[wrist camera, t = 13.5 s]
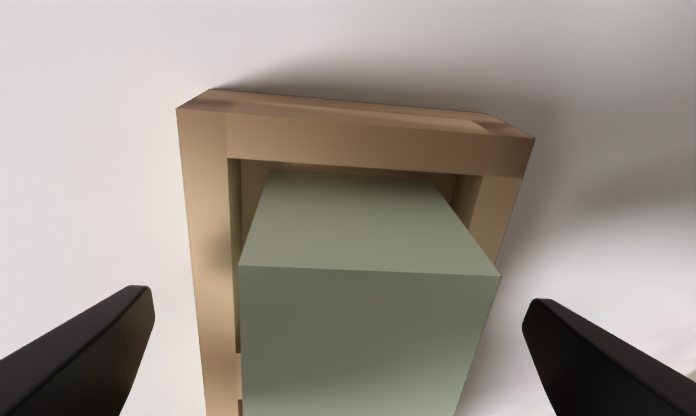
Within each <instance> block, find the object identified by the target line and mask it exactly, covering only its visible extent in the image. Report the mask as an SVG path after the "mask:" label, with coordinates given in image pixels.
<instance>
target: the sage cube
mask: <svg viewBox="0 0 696 416" xmlns="http://www.w3.org/2000/svg"><path fill="white" fill-rule="evenodd" d="M501 277H502V276H501V275H500V273H499V272H498V271H497V269H496V268H495V266H494V265H493V264H492V262H491V261H490V260H489V258H488V257H487V256H486V254H485V253H484V252H483V250H482V249H481V247H480V246H479V245H478V243H477V242H476V241H475V239H474V238H473V237H472V235H471V234H470V233H469V231H468V230H467V228H466V227H465V226H464V224H463V223H462V222H461V220H460V219H459V218H458V216H457V215H456V214H455V212H454V211H453V209H452V208H451V207H450V205H449V204H448V203H447V201H446V200H445V199H444V197H443V196H442V195H441V193H440V192H439V190H438V189H437V188H436V186H435V185H434V184H433V182H432V181H431V180H419V179H405V178H391V177H376V176H362V175H348V174H334V173H319V172H305V171H291V170H276V169H270V171H269V174H268V177H267V180H266V183H265V186H264V189H263V192H262V195H261V198H260V201H259V204H258V207H257V210H256V213H255V216H254V219H253V222H252V225H251V228H250V231H249V234H248V237H247V240H246V243H245V246H244V249H243V252H242V255H241V258H240V261H239V264H238V283H239V314H240V345H241V376H242V407H243V416H454V413H455V410H456V407H457V404H458V402H459V399H460V396H461V393H462V390H463V387H464V384H465V381H466V378H467V375H468V372H469V370H470V367H471V364H472V361H473V358H474V355H475V352H476V349H477V346H478V343H479V341H480V338H481V335H482V332H483V329H484V326H485V323H486V320H487V317H488V314H489V312H490V309H491V306H492V303H493V300H494V297H495V294H496V291H497V288H498V285H499V282H500V280H501Z"/></svg>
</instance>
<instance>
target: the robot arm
mask: <svg viewBox="0 0 696 416" xmlns="http://www.w3.org/2000/svg"><path fill="white" fill-rule="evenodd" d="M154 322H155V311H154V305H153V299H152V293H151V289H150V288H149V287H148V286H141V285H129V286H127V287H125V288H123V289H121V290H120V291H118V292H116V293H115V294H113V295H111V296H109V297H108V298H106V299H104V300H103V301H101V302H99V303H97V304H96V305H94V306H92V307H91V308H89V309H87V310H85V311H84V312H82V313H80V314H79V315H77V316H75V317H73V318H72V319H70V320H68V321H67V322H65V323H63V324H61V325H60V326H58V327H56V328H55V329H53V330H51V331H49V332H48V333H46V334H44V335H43V336H41V337H39V338H37V339H36V340H34V341H32V342H31V343H29V344H27V345H25V346H24V347H22V348H20V349H19V350H17V351H15V352H13V353H12V354H10V355H8V356H7V357H5V358H3V359H1V360H0V416H119V415H120V412H121V410H122V408H123V406H124V404H125V402H126V400H127V397H128V395H129V393H130V391H131V388H132V385H133V383H134V380H135V377H136V375H137V372H138V369H139V366H140V363H141V360H142V357H143V355H144V352H145V349H146V346H147V343H148V340H149V338H150V335H151V332H152V329H153V326H154ZM522 332H523V335H524V338H525V341H526V343H527V346H528V349H529V351H530V354H531V356H532V359H533V362H534V364H535V367H536V369H537V372H538V375H539V377H540V380H541V383H542V385H543V387H544V390H545V392H546V394H547V396H548V399H549V401H550V403H551V405H552V407H553V409H554V411H555V413H556V415H557V416H696V382H694V381H692V380H691V379H689V378H687V377H686V376H684V375H682V374H680V373H679V372H677V371H675V370H673V369H672V368H670V367H668V366H666V365H665V364H663V363H661V362H660V361H658V360H656V359H654V358H653V357H651V356H649V355H647V354H646V353H644V352H642V351H640V350H639V349H637V348H635V347H633V346H632V345H630V344H628V343H627V342H625V341H623V340H621V339H620V338H618V337H616V336H614V335H613V334H611V333H609V332H607V331H606V330H604V329H602V328H601V327H599V326H597V325H595V324H594V323H592V322H590V321H588V320H587V319H585V318H583V317H581V316H580V315H578V314H576V313H574V312H573V311H571V310H569V309H568V308H566V307H564V306H562V305H561V304H559V303H557V302H555V301H554V300H552V299H541V298H536V299H533V300H532V301H531V303H530V305H529V308H528V310H527V313H526V315H525V318H524V320H523V323H522Z"/></svg>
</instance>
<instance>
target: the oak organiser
mask: <svg viewBox="0 0 696 416" xmlns="http://www.w3.org/2000/svg"><path fill="white" fill-rule="evenodd" d="M176 116H177V126H178V136H179V146H180V156H181V166H182V175H183V185H184V195H185V205H186V215H187V225H188V235H189V245H190V255H191V265H192V275H193V285H194V295H195V305H196V314H197V324H198V334H199V344H200V354H201V364H202V374H203V384H204V394H205V404H206V414H207V416H243V407H242V376H241V345H240V314H239V283H238V264H239V261H240V258H241V255H242V252H243V249H244V246H245V243H246V240H247V237H248V234H249V231H250V228H251V225H252V222H253V219H254V216H255V213H256V210H257V207H258V204H259V201H260V198H261V195H262V192H263V189H264V186H265V183H266V180H267V177H268V174H269V171H270V169H276V170H291V171H305V172H319V173H334V174H348V175H362V176H376V177H391V178H405V179H419V180H431V181H432V182H433V184H434V185H435V186H436V188H437V189H438V190H439V192H440V193H441V195H442V196H443V197H444V199H445V200H446V201H447V203H448V204H449V205H450V207H451V208H452V209H453V211H454V212H455V214H456V215H457V216H458V218H459V219H460V220H461V222H462V223H463V224H464V226H465V227H466V228H467V230H468V231H469V233H470V234H471V235H472V237H473V238H474V239H475V241H476V242H477V243H478V245H479V246H480V247H481V249H482V250H483V252H484V253H485V254H486V256H487V257H488V258H489V260H490V261H491V262H492V264H493V265H495V262H496V258H497V255H498V252H499V249H500V246H501V243H502V240H503V237H504V234H505V231H506V228H507V225H508V222H509V219H510V215H511V212H512V209H513V206H514V203H515V200H516V197H517V194H518V191H519V188H520V185H521V182H522V179H523V176H524V173H525V169H526V166H527V163H528V160H529V157H530V154H531V151H532V148H533V145H534V142H535V139H536V138H534V137H532V136H530V135H528V134H526V133H524V132H522V131H520V130H518V129H516V128H514V127H513V126H511V125H509V124H507V123H505V122H503V121H501V120H499V119H497V118H495V117H493V116H491V115H489V114H485V113H474V112H462V111H451V110H440V109H429V108H418V107H407V106H395V105H384V104H373V103H362V102H351V101H339V100H328V99H317V98H306V97H295V96H284V95H272V94H261V93H250V92H239V91H228V90H216V89H209V90H207V91H205V92H203V93H202V94H200V95H198V96H196V97H195V98H193V99H191V100H190V101H188V102H186V103H184V104H183V105H181V106H179V107H177V108H176Z"/></svg>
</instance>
